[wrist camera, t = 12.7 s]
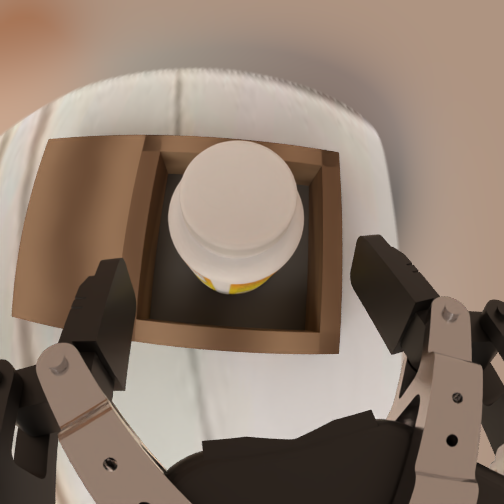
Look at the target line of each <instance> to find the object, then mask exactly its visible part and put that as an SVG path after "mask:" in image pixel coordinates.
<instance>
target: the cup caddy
mask: <svg viewBox="0 0 504 504" xmlns="http://www.w3.org/2000/svg"><path fill="white" fill-rule="evenodd" d="M236 140H240V141H249V142H254V143H257V144H260V145H262V146H265V147H267V148H269V149H270V150H272V151H273V152H275V153H276V154H277V155H279V156H280V157H281V158H282V159H283V160H284V161H285V163H286V164H287V165H288V167H289V168H290V170H291V172H292V174H293V176H294V179H295V182H296V186H297V191H298V193H299V196H300V198H301V201H302V205H303V211H304V226H303V232H302V236H301V239H300V241H299V244H298V246H297V248H296V250H295V252H294V253H293V255H292V256H291V257H290V259H289V260H288V261H287V262H286V263H285V264H284V265H283V266H282V267H281V268H280V269H279V270H278V271H277V272H275V273H274V274H273V275H272V276H271V277H270V278H269V279H268V280H267V281H266V282H264V283H263V284H262V285H261V286H259V287H258V288H256V289H254V290H252V291H250V292H247V293H244V294H238V295H229V294H223V293H219V292H217V291H214V290H212V289H210V288H209V287H207V286H206V285H205V284H204V283H202V282H201V281H200V279H199V278H198V277H197V276H196V275H195V274H194V272H193V271H192V270H191V269H190V267H189V266H188V265H187V264H186V263H185V261H184V260H183V259H182V258H181V256H180V255H179V253H178V251H177V250H176V248H175V246H174V243H173V241H172V238H171V235H170V230H169V223H168V213H169V206H170V202H171V198H172V196H173V193H174V191H175V189H176V187H177V185H178V184H179V182H180V181H181V180H182V177H183V174H184V172H185V170H186V169H187V167H188V165H189V164H190V163H191V161H192V160H193V159H194V158H195V157H196V156H197V155H199V154H200V153H201V152H202V151H204V150H205V149H207V148H209V147H211V146H213V145H216V144H218V143H222V142H226V141H236ZM114 258H123V259H124V261H125V263H126V266H127V270H128V273H129V276H130V280H131V283H132V286H133V289H134V293H135V297H136V316H135V321H134V327H133V334H132V340H131V341H136V342H143V343H150V344H158V345H167V346H175V347H185V348H195V349H206V350H219V351H233V352H250V353H275V354H339V343H340V325H341V302H342V204H341V181H340V163H339V152H333V151H327V150H321V149H315V148H308V147H301V146H294V145H287V144H279V143H270V142H261V141H251V140H241V139H229V138H215V137H198V136H173V135H111V136H86V137H70V138H58V139H49V140H48V143H47V145H46V148H45V151H44V154H43V157H42V160H41V163H40V166H39V169H38V172H37V176H36V179H35V182H34V186H33V190H32V193H31V197H30V201H29V205H28V209H27V213H26V217H25V222H24V227H23V232H22V237H21V242H20V248H19V254H18V260H17V267H16V274H15V283H14V292H13V304H12V317H16V318H20V319H24V320H28V321H32V322H36V323H40V324H44V325H49V326H53V327H58V328H62V329H63V328H64V325H65V322H66V319H67V317H68V314H69V311H70V309H71V306H72V303H73V301H74V300H75V296H76V293H77V291H78V288H79V286H80V285H81V284H82V283H83V282H84V281H85V280H86V278H87V277H88V276H94V275H95V273H96V270H97V268H98V265H99V263H100V261H101V260H105V259H114Z"/></svg>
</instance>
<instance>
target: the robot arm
mask: <svg viewBox="0 0 504 504" xmlns="http://www.w3.org/2000/svg"><path fill="white" fill-rule="evenodd" d="M350 279H351V284H352V287H353V289H354V291H355V292H356V294H357V296H358V297H359V299H360V301H361V302H362V304H363V306H364V307H365V309H366V311H367V313H368V314H369V316H370V318H371V319H372V321H373V323H374V325H375V326H376V328H377V330H378V332H379V333H380V335H381V337H382V339H383V341H384V342H385V344H386V346H387V348H388V350H389V351H390V353H391V355H392V354H396V353H399V352H403V351H404V353H405V354H406V356H405V358H404V360H403V364H402V368H401V373H400V378H399V382H398V386H397V390H396V395H395V398H394V402H393V405H392V408H391V410H390V412H389V414H388V416H387V418H386V419H375V417H374V415H373V413H372V410H368V411H365V412H362V413H358V414H355V415H351V416H348V417H344V418H340V419H336V420H333V421H331V422H329V423H327V424H325V425H324V426H322V427H320V428H318V429H316V430H314V431H311V432H309V433H307V434H305V435H303V436H301V437H299V438H296V439H290V440H288V439H269V438H255V437H240V438H231V439H220V440H208V441H202V446H203V451H201V452H198V453H195V454H192V455H190V456H188V457H186V458H184V459H182V460H180V461H179V462H177V463H176V464H174V465H173V466H172V467H170V468H169V469H168V470H166V469H165V467H164V466H163V465H162V464H161V463H160V462H159V461H158V460H157V458H156V457H155V456H154V455H153V454H152V453H151V452H150V451H149V449H148V448H147V447H146V446H145V445H144V443H143V442H142V441H141V440H140V438H139V437H138V436H137V435H136V433H135V432H134V431H133V429H132V428H131V427H130V425H129V424H128V423H127V421H126V420H125V419H124V417H123V416H122V414H121V413H120V412H119V410H118V409H117V407H116V406H115V405H114V403H113V402H112V397H113V391H125V386H126V377H127V369H128V361H129V354H130V347H131V340H132V334H133V327H134V321H135V316H136V297H135V293H134V289H133V286H132V283H131V280H130V276H129V273H128V270H127V266H126V263H125V261H124V259H123V258H114V259H105V260H101V261H100V263H99V265H98V268H97V270H96V273H95V275H94V276H88V277H87V278H86V280H85V281H84V282H83V283H82V284H81V285H80V286H79V288H78V291H77V293H76V296H75V300H74V301H73V303H72V306H71V309H70V311H69V314H68V317H67V319H66V322H65V325H64V328H63V330H62V333H61V336H60V339H59V342H58V344H54V345H52V346H50V347H49V348H47V349H46V350H45V351H44V352H43V353H42V354H41V355H40V357H39V359H38V361H37V365H34V366H30V367H26V368H23V369H19V370H15V369H14V367H13V366H12V365H11V364H10V363H9V362H8V361H6V360H2V359H1V360H0V504H55V485H56V461H57V447H58V439H59V441H60V443H61V445H62V447H63V449H64V451H65V453H66V455H67V457H68V458H69V460H70V462H71V464H72V466H73V467H74V469H75V471H76V472H77V474H78V476H79V477H80V479H81V481H82V482H83V484H84V485H85V487H86V489H87V490H88V492H89V493H90V495H91V496H92V498H93V499H94V501H95V502H96V504H504V385H503V383H502V381H501V380H500V378H499V376H498V375H497V373H496V371H495V370H494V368H493V366H492V365H491V363H490V362H491V361H492V359H493V358H494V357H495V355H496V354H497V352H499V354H500V355H501V357H502V359H503V360H504V302H502V301H499V300H490V301H489V302H488V303H487V304H486V306H485V308H484V310H483V312H471V311H468V310H467V309H466V307H465V306H464V305H463V304H462V303H461V302H459V301H457V300H456V299H454V298H451V297H445V296H444V297H440V296H439V295H438V294H437V292H436V291H435V290H434V289H433V287H432V286H431V285H430V284H429V283H428V281H427V280H426V279H425V278H424V277H423V275H422V274H421V273H420V272H418V270H417V268H416V267H415V266H414V265H412V263H411V261H410V260H409V259H408V258H407V257H406V256H405V255H404V254H403V253H401V252H400V251H398V250H397V249H395V248H394V247H391V246H390V245H389V244H388V243H387V242H386V240H385V239H384V238H383V237H382V236H381V235H367V236H360V237H359V238H358V239H357V242H356V247H355V252H354V257H353V262H352V267H351V272H350ZM481 424H482V426H483V428H484V430H485V432H486V435H487V437H488V439H489V442H490V444H491V447H492V449H493V451H494V454H495V461H493V462H492V463H491V465H490V469H489V468H487V467H485V466H483V465H481V464H479V463H477V456H478V449H479V440H480V429H481ZM15 425H16V426H18V432H17V438H16V445H15V453H14V460H13V457H12V451H11V450H12V442H13V436H14V429H15Z"/></svg>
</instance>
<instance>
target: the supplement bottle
mask: <svg viewBox="0 0 504 504" xmlns="http://www.w3.org/2000/svg"><path fill="white" fill-rule="evenodd" d="M168 223H169V230H170V235H171V238H172V241H173V243H174V246H175V248H176V250H177V251H178V253H179V255H180V256H181V258H182V259H183V260H184V261H185V263H186V264H187V265H188V266H189V267H190V269H191V270H192V271H193V272H194V274H195V275H196V276H197V277H198V278H199V279H200V281H201V282H202V283H204V284H205V285H206V286H207V287H209V288H210V289H212V290H214V291H217V292H219V293H223V294H229V295H238V294H244V293H247V292H250V291H252V290H254V289H256V288H258V287H259V286H261V285H262V284H263V283H264V282H266V281H267V280H268V279H269V278H270V277H271V276H272V275H273V274H274V273H275V272H277V271H278V270H279V269H280V268H281V267H282V266H283V265H284V264H285V263H286V262H287V261H288V260H289V259H290V257H291V256H292V255H293V253H294V252H295V250H296V248H297V246H298V244H299V241H300V239H301V236H302V232H303V226H304V211H303V205H302V201H301V198H300V196H299V193H298V191H297V186H296V182H295V179H294V176H293V174H292V172H291V170H290V168H289V167H288V165H287V164H286V163H285V161H284V160H283V159H282V158H281V157H280V156H279V155H277V154H276V153H275V152H273V151H272V150H270V149H269V148H267V147H265V146H262V145H260V144H257V143H254V142H249V141H240V140H236V141H226V142H222V143H218V144H216V145H213V146H211V147H209V148H207V149H205V150H204V151H202V152H201V153H200V154H199V155H197V156H196V157H195V158H194V159H193V160H192V161H191V163H190V164H189V165H188V167H187V169H186V170H185V172H184V174H183V177H182V180H181V181H180V182H179V184H178V185H177V187H176V189H175V191H174V193H173V196H172V198H171V202H170V206H169V213H168Z"/></svg>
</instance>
